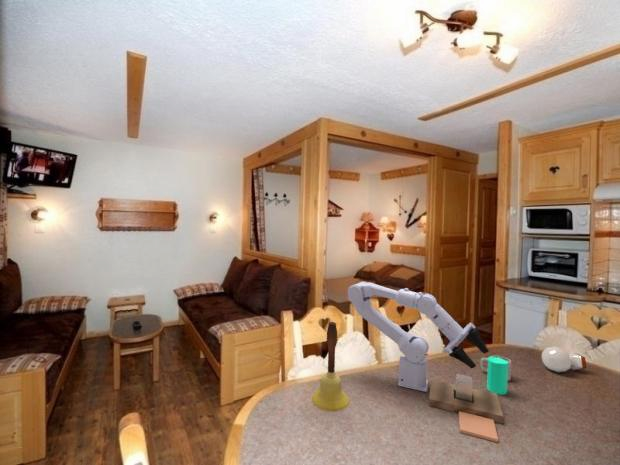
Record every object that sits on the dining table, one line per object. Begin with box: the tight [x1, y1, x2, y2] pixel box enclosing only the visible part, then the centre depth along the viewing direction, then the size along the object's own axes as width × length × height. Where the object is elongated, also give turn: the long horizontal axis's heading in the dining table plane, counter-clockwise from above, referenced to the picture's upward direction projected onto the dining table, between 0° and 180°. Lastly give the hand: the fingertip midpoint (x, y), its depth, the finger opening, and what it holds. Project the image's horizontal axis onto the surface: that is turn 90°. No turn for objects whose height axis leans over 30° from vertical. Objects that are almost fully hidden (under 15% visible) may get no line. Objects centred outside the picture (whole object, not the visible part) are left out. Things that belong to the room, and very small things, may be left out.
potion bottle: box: [541, 345, 587, 373], centre depth 122 cm, size 9×10×15 cm
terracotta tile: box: [458, 411, 499, 443], centre depth 86 cm, size 9×9×1 cm
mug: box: [480, 354, 512, 382], centre depth 117 cm, size 10×7×7 cm
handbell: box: [311, 321, 350, 412], centre depth 98 cm, size 12×12×25 cm
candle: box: [486, 355, 508, 396], centre depth 106 cm, size 6×6×12 cm
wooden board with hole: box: [428, 379, 505, 425], centre depth 98 cm, size 20×13×2 cm, turn 66°
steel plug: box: [454, 373, 474, 403], centre depth 98 cm, size 4×4×8 cm
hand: (480, 359), depth 98 cm, fingers open, 7 cm apart
